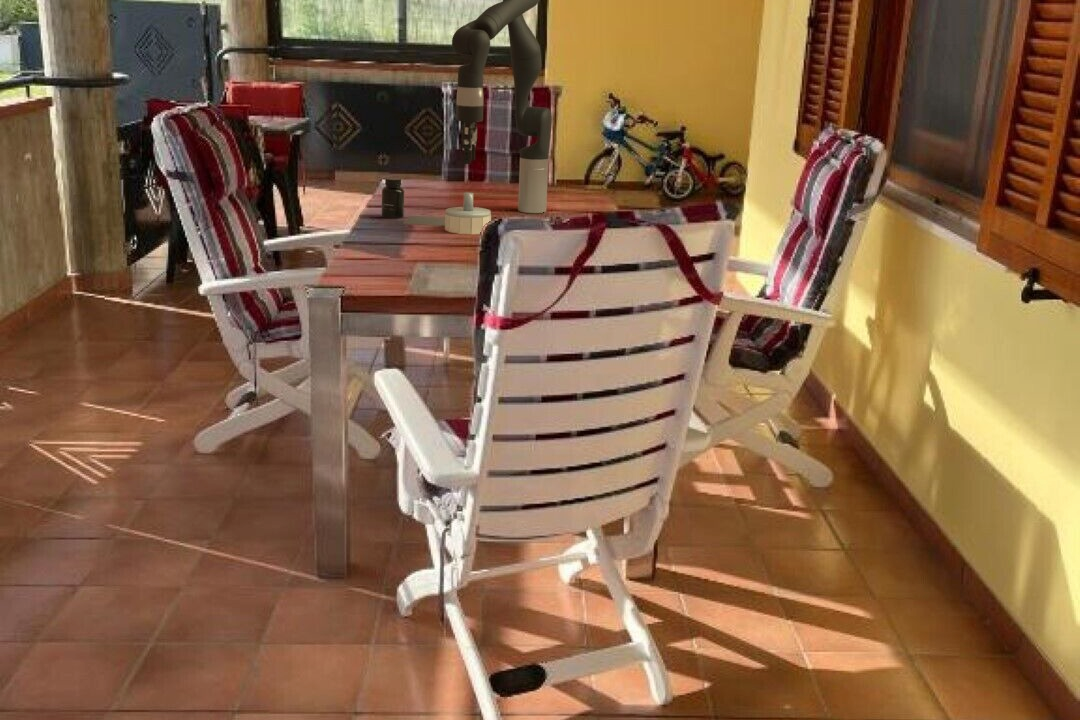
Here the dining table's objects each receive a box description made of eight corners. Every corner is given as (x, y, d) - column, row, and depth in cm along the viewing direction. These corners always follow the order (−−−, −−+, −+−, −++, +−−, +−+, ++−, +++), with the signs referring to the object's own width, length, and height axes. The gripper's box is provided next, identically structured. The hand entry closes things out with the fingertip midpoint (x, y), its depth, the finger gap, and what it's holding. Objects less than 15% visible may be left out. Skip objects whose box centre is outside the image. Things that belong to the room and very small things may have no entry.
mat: (410, 217, 325) (410, 215, 325) (455, 219, 324) (455, 218, 324) (402, 225, 311) (402, 223, 311) (449, 227, 311) (449, 226, 311)
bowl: (448, 225, 313) (449, 209, 312) (492, 228, 313) (492, 211, 311) (442, 234, 301) (442, 216, 299) (487, 236, 300) (488, 219, 299)
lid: (449, 209, 312) (449, 188, 310) (492, 211, 311) (493, 191, 309) (442, 216, 299) (442, 195, 298) (488, 218, 299) (488, 197, 297)
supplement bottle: (383, 220, 318) (382, 180, 314) (380, 216, 324) (380, 176, 321) (405, 219, 320) (405, 180, 316) (402, 215, 326) (402, 177, 323)
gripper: (480, 106, 289) (479, 165, 294) (486, 102, 302) (484, 159, 307) (453, 105, 289) (452, 164, 294) (460, 101, 303) (459, 158, 308)
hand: (469, 161), depth 301 cm, fingers open, 8 cm apart
